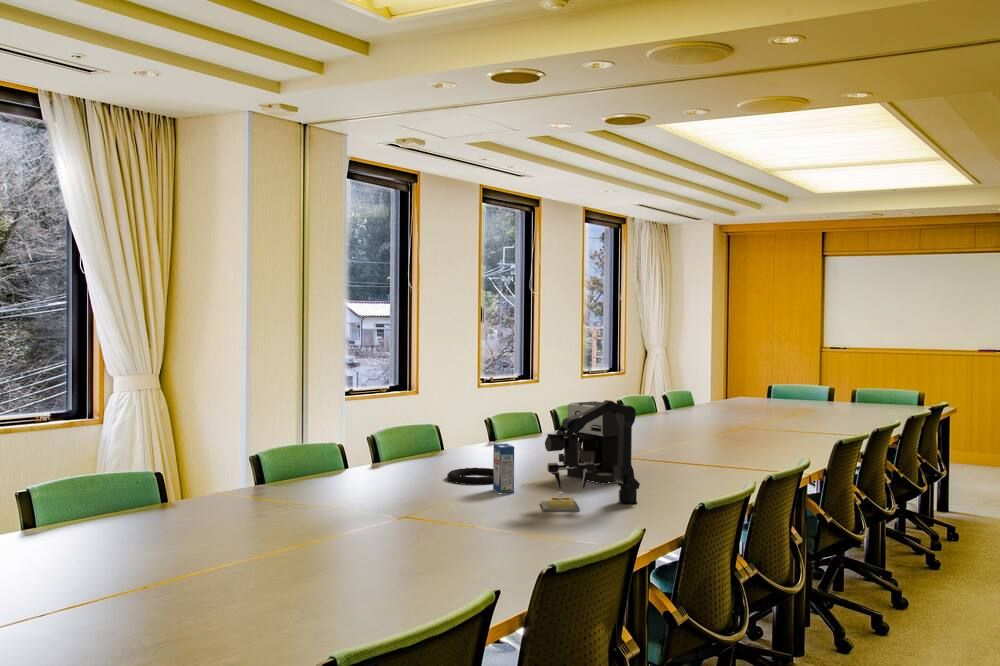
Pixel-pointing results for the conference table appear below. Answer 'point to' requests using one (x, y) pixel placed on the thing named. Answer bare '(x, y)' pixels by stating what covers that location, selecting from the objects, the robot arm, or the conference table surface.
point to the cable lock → (456, 477)
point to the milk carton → (503, 468)
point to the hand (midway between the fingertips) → (571, 488)
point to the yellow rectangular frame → (560, 502)
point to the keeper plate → (559, 497)
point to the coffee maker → (597, 443)
